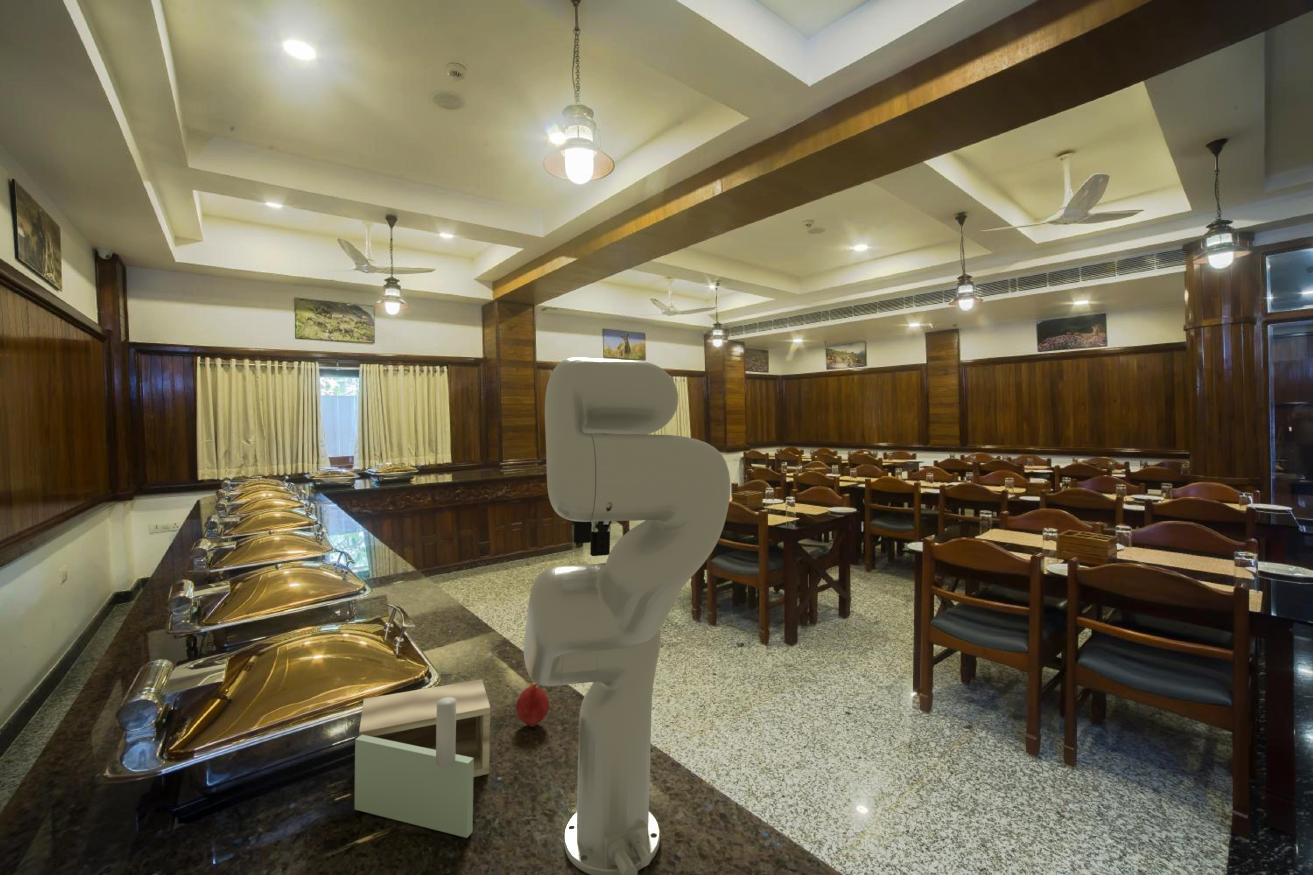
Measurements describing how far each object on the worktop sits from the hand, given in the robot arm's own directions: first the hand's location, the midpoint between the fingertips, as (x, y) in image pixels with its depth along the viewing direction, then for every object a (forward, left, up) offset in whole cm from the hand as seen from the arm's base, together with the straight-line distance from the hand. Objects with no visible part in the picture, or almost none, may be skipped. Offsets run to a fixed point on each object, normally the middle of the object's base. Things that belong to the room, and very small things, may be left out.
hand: (590, 548), depth 95 cm
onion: (+7, +8, -34) cm, 35 cm away
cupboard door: (-11, +29, -33) cm, 45 cm away
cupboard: (+1, +26, -33) cm, 42 cm away
